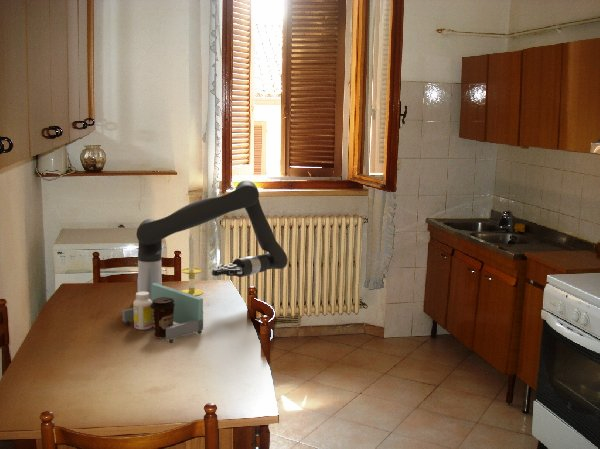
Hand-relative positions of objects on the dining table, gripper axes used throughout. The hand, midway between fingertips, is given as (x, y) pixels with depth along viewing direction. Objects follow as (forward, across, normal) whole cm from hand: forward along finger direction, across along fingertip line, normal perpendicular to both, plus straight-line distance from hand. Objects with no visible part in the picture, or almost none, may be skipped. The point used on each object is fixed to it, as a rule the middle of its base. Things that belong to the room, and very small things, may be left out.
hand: (213, 273), depth 261 cm
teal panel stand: (+24, +1, +17) cm, 29 cm away
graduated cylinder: (-12, -28, +17) cm, 35 cm away
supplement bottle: (+28, -6, +17) cm, 33 cm away
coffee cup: (+28, +6, +17) cm, 33 cm away
